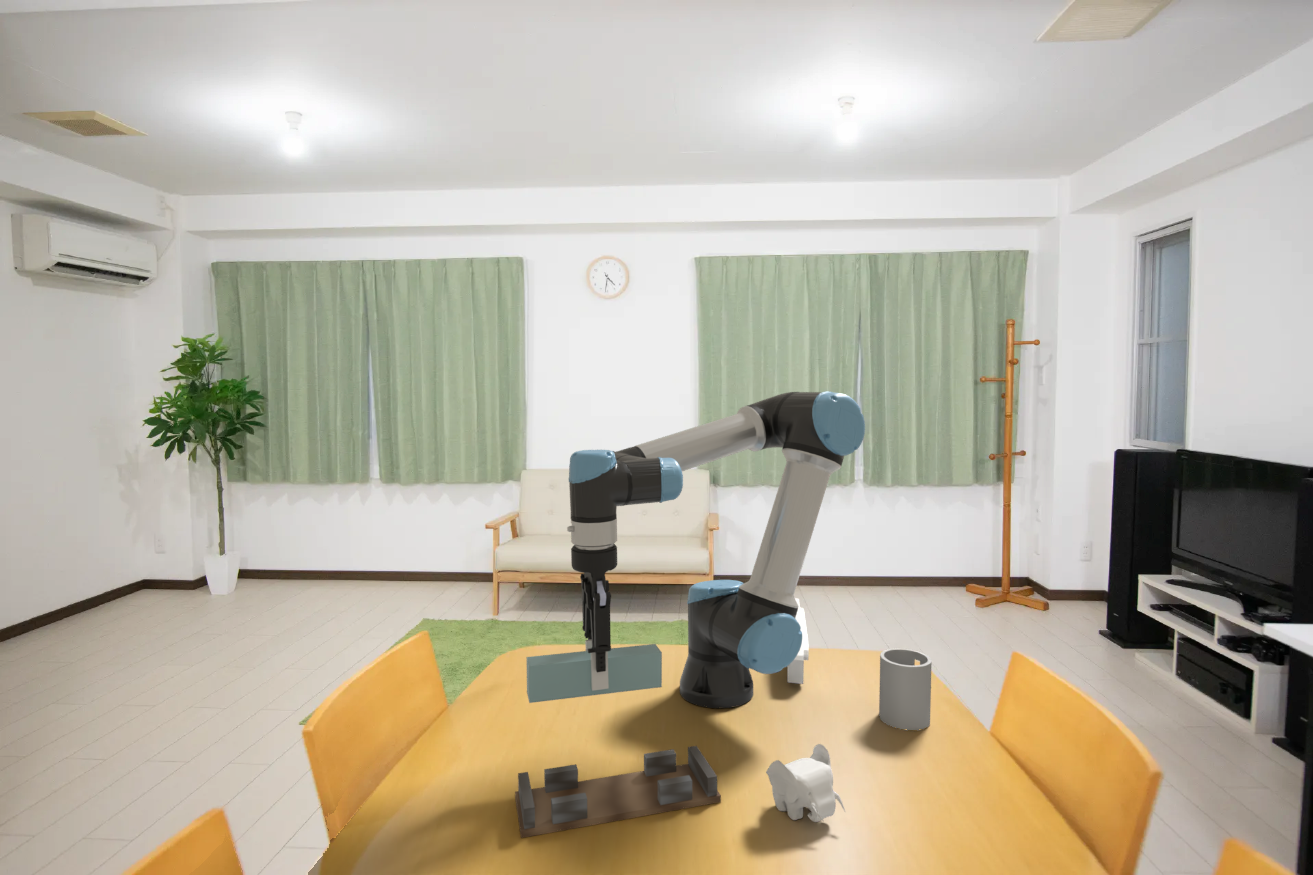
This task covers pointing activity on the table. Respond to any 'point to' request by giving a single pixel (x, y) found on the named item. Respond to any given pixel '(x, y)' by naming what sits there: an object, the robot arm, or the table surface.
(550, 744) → the table surface
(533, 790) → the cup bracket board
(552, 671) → the rail
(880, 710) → the cup
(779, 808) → the elephant figurine
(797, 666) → the shelf bracket
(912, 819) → the table surface
